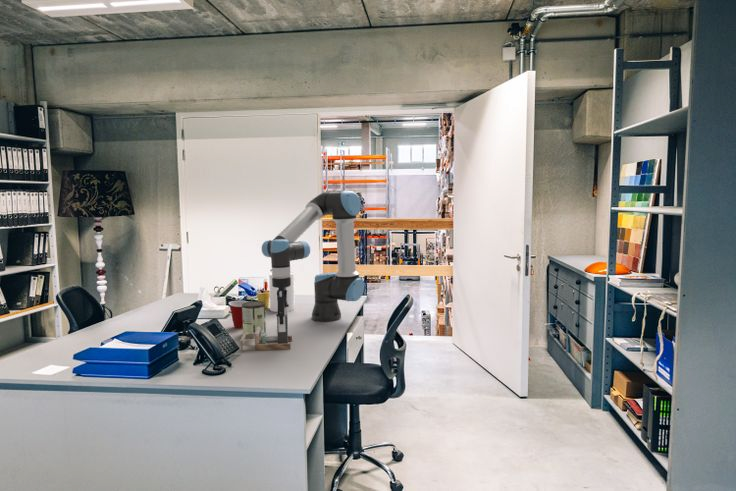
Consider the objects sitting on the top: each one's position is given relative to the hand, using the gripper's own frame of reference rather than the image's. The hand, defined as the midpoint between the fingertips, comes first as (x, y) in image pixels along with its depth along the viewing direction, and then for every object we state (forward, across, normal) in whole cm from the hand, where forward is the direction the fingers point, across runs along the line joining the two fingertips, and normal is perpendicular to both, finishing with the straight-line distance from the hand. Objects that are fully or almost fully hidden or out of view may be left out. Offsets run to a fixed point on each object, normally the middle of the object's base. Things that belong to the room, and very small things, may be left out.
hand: (283, 327), depth 198 cm
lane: (+7, +1, -7) cm, 10 cm away
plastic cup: (+8, -30, -22) cm, 39 cm away
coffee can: (+8, -17, -14) cm, 24 cm away
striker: (+7, +1, -3) cm, 8 cm away
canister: (+9, -66, -6) cm, 67 cm away
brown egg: (+5, +1, -11) cm, 12 cm away
